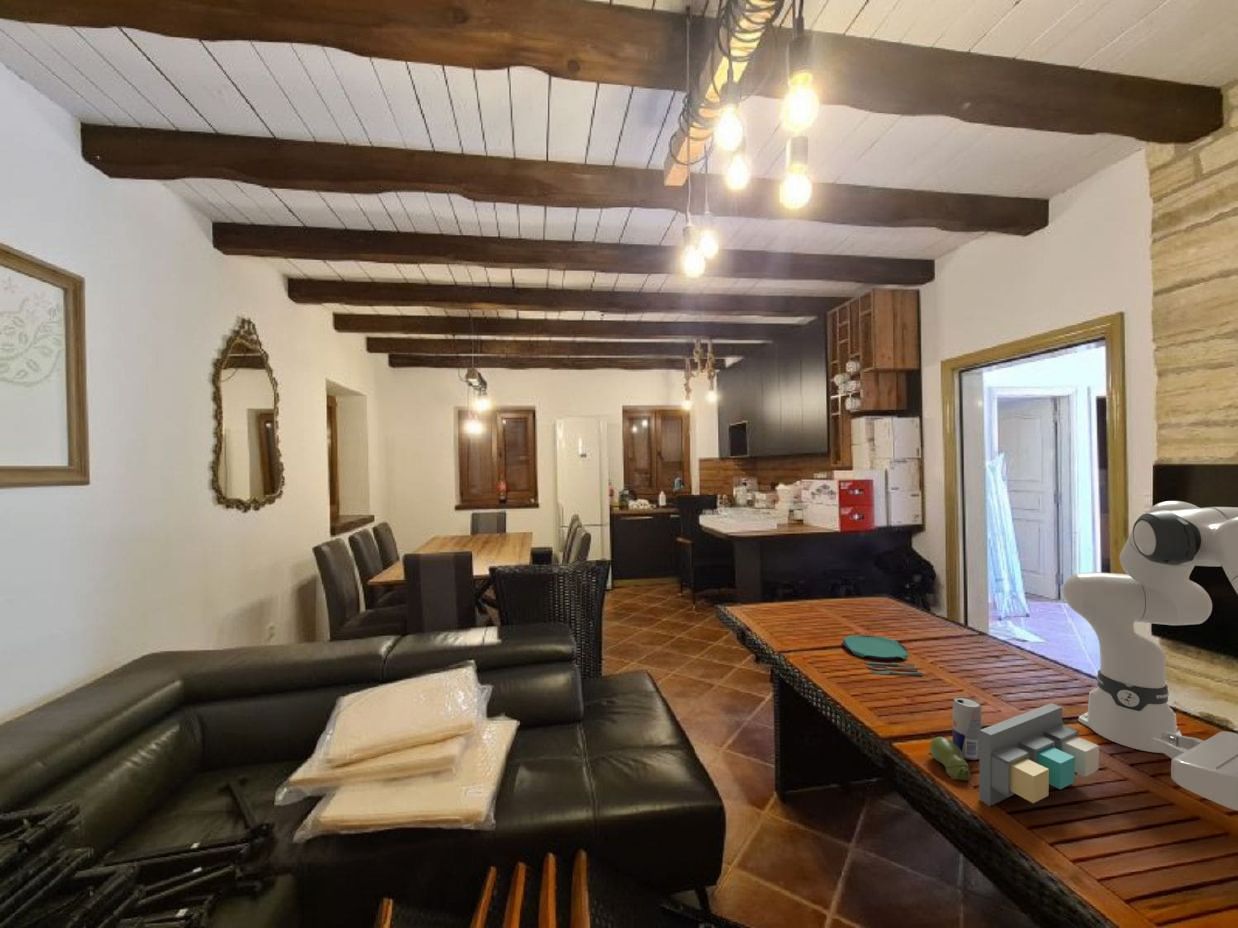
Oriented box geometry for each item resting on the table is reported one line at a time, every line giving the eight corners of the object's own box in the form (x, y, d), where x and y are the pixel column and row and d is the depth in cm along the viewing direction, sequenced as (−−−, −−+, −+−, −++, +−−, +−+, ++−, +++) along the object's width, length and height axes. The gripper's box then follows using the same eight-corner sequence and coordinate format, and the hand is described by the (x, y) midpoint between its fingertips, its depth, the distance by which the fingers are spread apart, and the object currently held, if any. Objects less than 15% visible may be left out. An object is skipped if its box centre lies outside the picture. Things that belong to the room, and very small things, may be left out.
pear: (951, 731, 116) (980, 765, 106) (948, 752, 117) (976, 788, 107) (926, 731, 116) (952, 765, 106) (923, 751, 117) (949, 787, 107)
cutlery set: (895, 641, 185) (895, 635, 185) (930, 679, 156) (930, 672, 156) (837, 639, 189) (837, 632, 189) (860, 675, 159) (860, 668, 159)
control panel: (1050, 766, 112) (1051, 702, 112) (1078, 779, 107) (1079, 713, 107) (979, 799, 101) (979, 729, 101) (1007, 816, 97) (1008, 742, 96)
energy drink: (953, 744, 121) (954, 693, 120) (981, 752, 117) (982, 700, 117) (950, 754, 116) (951, 702, 116) (979, 763, 113) (980, 709, 113)
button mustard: (1021, 781, 100) (1021, 756, 100) (1048, 795, 96) (1048, 768, 96) (1006, 788, 98) (1006, 762, 98) (1033, 803, 94) (1033, 776, 94)
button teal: (1047, 769, 104) (1047, 744, 104) (1074, 782, 100) (1074, 756, 100) (1033, 775, 102) (1033, 750, 102) (1060, 789, 98) (1060, 763, 97)
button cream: (1071, 757, 108) (1071, 734, 107) (1098, 769, 103) (1098, 745, 103) (1058, 763, 105) (1058, 739, 105) (1085, 776, 101) (1085, 751, 101)
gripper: (1313, 748, 79) (1185, 707, 91) (1262, 785, 70) (1128, 734, 83) (1312, 788, 79) (1184, 742, 91) (1261, 830, 70) (1128, 773, 83)
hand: (1157, 739), depth 87 cm, fingers open, 2 cm apart
